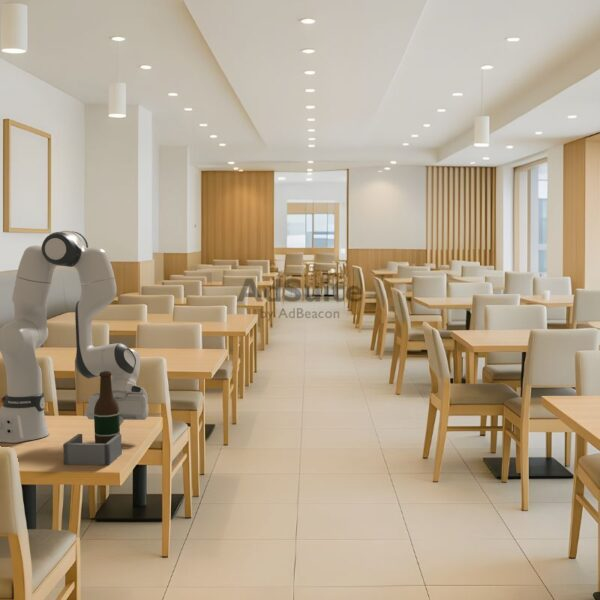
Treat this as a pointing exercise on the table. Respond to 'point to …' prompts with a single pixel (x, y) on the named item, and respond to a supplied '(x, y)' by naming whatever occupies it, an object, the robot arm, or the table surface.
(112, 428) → the beer bottle
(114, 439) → the bottle stall
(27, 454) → the table surface
